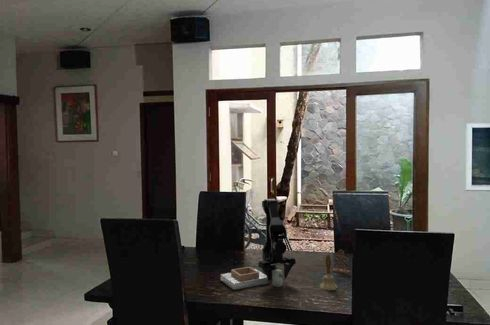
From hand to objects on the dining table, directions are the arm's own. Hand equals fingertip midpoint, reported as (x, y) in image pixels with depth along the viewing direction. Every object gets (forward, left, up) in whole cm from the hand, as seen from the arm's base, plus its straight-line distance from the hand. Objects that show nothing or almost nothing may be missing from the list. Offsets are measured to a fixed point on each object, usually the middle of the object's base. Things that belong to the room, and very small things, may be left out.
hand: (277, 279), depth 201 cm
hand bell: (-20, +15, -3) cm, 25 cm away
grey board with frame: (+12, -12, -2) cm, 17 cm away
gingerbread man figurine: (-41, -1, -3) cm, 41 cm away
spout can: (0, 0, -3) cm, 3 cm away
